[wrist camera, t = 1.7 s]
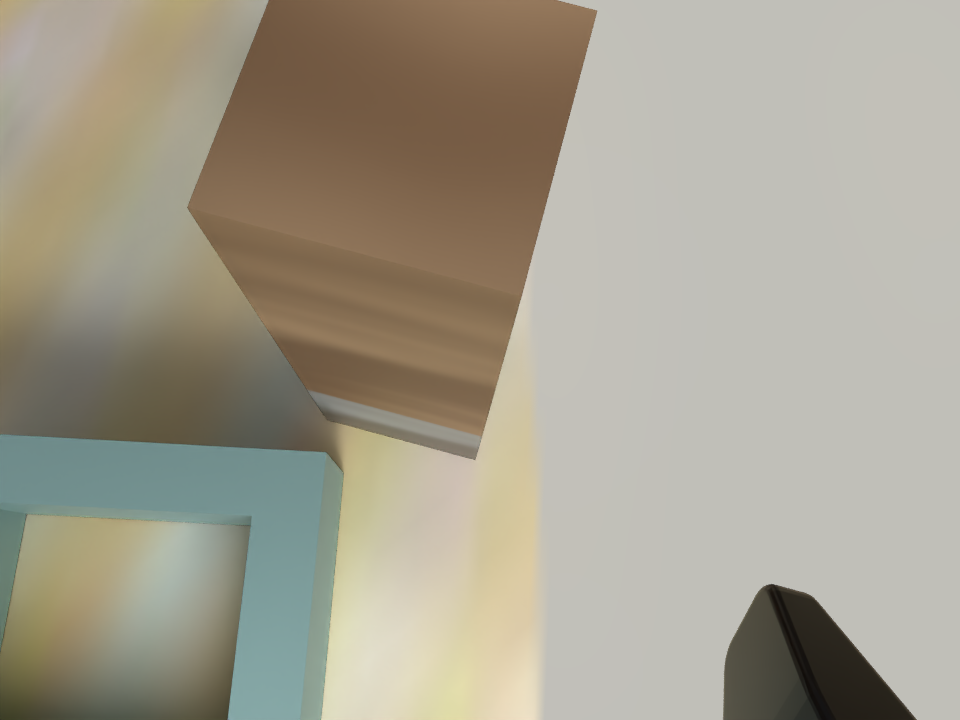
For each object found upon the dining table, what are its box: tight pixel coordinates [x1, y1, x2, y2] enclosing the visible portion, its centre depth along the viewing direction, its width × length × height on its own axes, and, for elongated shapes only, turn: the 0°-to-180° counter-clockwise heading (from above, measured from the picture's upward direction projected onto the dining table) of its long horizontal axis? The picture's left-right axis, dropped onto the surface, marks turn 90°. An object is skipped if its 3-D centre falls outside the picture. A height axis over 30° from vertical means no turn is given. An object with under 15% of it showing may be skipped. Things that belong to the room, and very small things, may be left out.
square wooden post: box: [187, 0, 597, 460], centre depth 14 cm, size 4×4×11 cm
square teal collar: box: [0, 434, 344, 720], centre depth 16 cm, size 8×8×3 cm
